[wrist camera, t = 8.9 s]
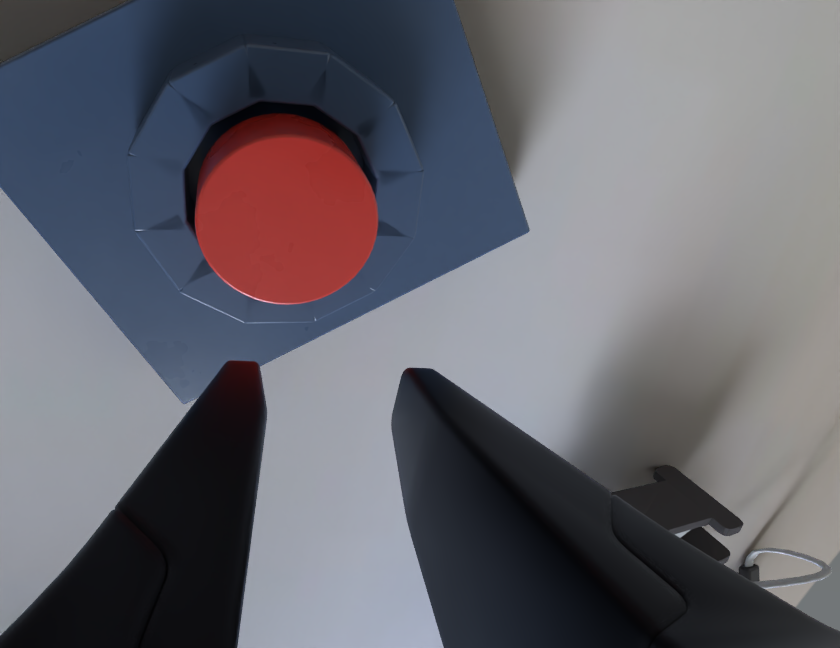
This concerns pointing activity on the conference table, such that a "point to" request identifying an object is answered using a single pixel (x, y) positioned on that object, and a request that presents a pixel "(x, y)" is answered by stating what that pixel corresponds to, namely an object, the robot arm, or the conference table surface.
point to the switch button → (284, 210)
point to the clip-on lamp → (703, 522)
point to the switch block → (215, 114)
